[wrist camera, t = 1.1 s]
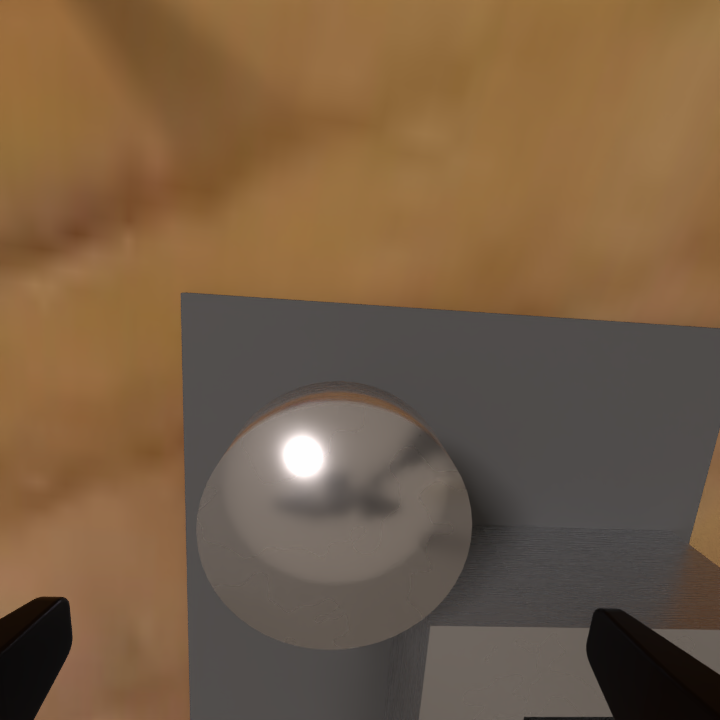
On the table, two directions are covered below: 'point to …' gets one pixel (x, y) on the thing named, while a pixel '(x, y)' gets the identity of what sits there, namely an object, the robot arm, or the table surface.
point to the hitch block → (547, 622)
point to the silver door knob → (334, 518)
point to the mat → (458, 437)
